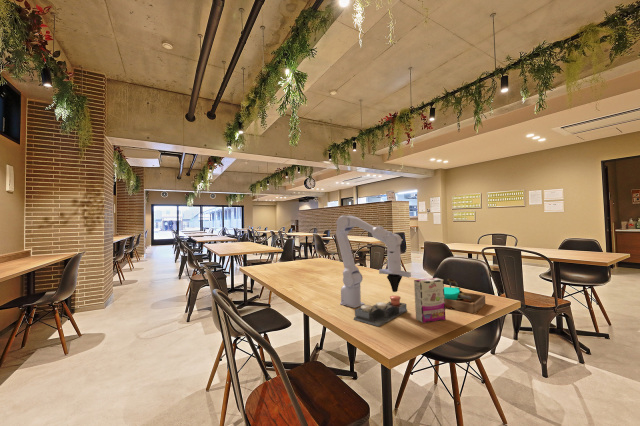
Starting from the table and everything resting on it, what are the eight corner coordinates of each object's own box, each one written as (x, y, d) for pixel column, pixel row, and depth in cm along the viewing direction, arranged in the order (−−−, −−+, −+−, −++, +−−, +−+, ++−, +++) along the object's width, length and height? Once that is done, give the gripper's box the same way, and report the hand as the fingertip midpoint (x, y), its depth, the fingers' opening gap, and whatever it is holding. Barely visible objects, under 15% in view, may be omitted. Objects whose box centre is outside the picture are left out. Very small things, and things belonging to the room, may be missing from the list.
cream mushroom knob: (359, 315, 115) (358, 306, 115) (365, 312, 118) (364, 304, 118) (368, 318, 112) (367, 309, 112) (374, 315, 115) (374, 306, 115)
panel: (352, 319, 114) (352, 310, 114) (382, 305, 131) (382, 297, 131) (380, 327, 105) (379, 317, 105) (408, 311, 122) (407, 303, 122)
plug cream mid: (374, 312, 118) (373, 304, 118) (379, 310, 121) (379, 301, 121) (383, 315, 115) (383, 306, 115) (388, 312, 118) (388, 303, 118)
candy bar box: (437, 316, 115) (436, 277, 116) (446, 320, 111) (444, 279, 111) (414, 319, 112) (413, 279, 113) (422, 323, 108) (421, 282, 108)
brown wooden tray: (424, 303, 132) (424, 295, 132) (438, 295, 145) (438, 288, 145) (475, 313, 117) (474, 304, 117) (485, 303, 130) (485, 295, 130)
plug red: (388, 305, 121) (387, 297, 121) (393, 303, 124) (392, 294, 124) (397, 307, 118) (397, 299, 118) (402, 305, 121) (402, 296, 121)
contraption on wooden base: (478, 304, 130) (477, 272, 131) (459, 311, 119) (458, 276, 120) (449, 298, 141) (448, 269, 142) (430, 304, 131) (429, 272, 132)
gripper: (375, 260, 124) (376, 290, 123) (405, 263, 114) (406, 296, 113) (383, 258, 129) (384, 287, 128) (412, 261, 119) (413, 292, 118)
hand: (395, 291), depth 121 cm, fingers closed
